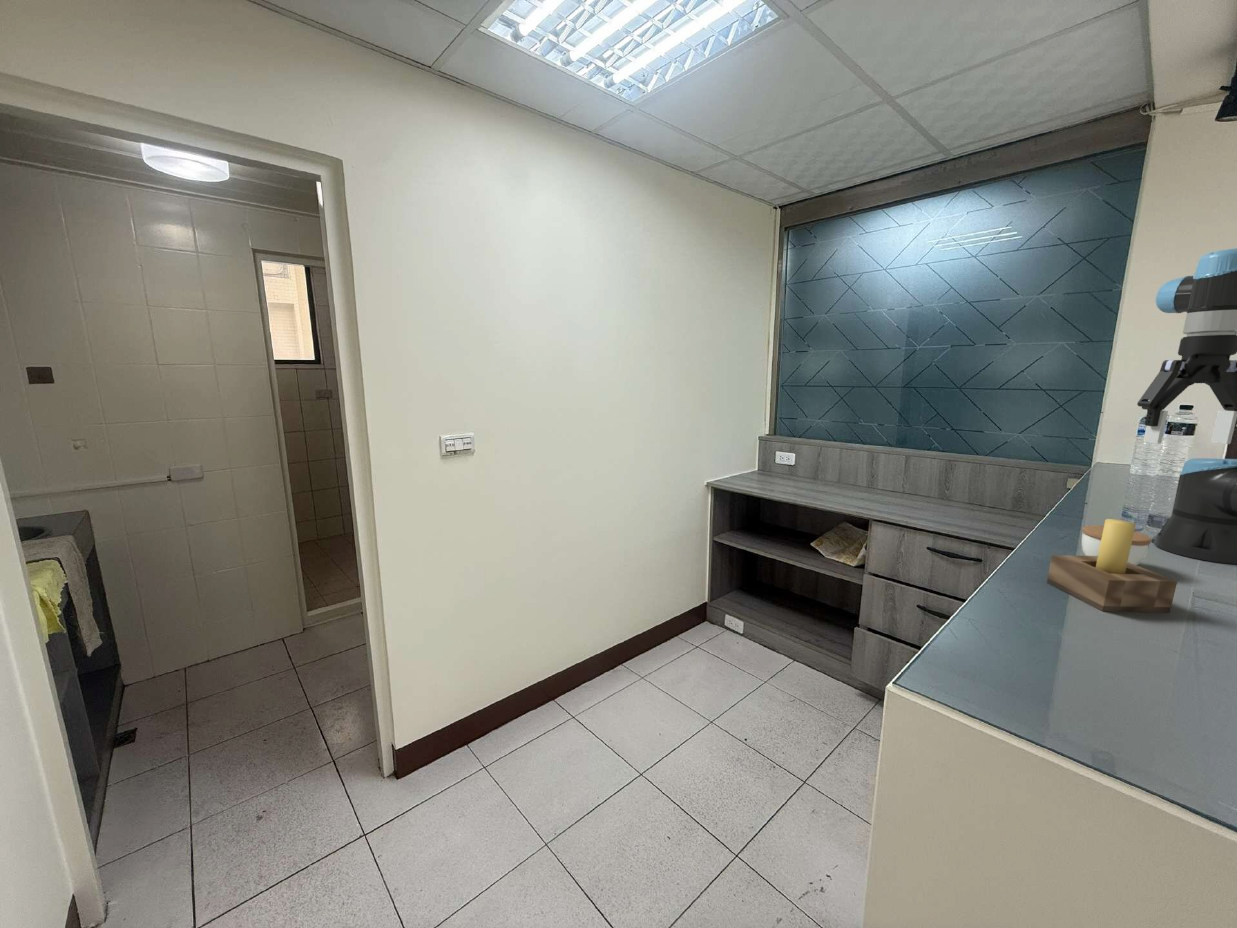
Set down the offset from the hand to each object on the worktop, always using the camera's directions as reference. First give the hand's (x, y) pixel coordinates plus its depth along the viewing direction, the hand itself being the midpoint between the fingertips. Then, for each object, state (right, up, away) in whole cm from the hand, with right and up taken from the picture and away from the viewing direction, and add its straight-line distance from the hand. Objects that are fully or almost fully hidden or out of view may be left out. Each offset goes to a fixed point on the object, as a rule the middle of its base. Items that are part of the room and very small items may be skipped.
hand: (1186, 442), depth 99 cm
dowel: (-21, -29, -5) cm, 36 cm away
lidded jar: (-5, -27, +11) cm, 30 cm away
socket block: (-21, -30, -5) cm, 37 cm away
